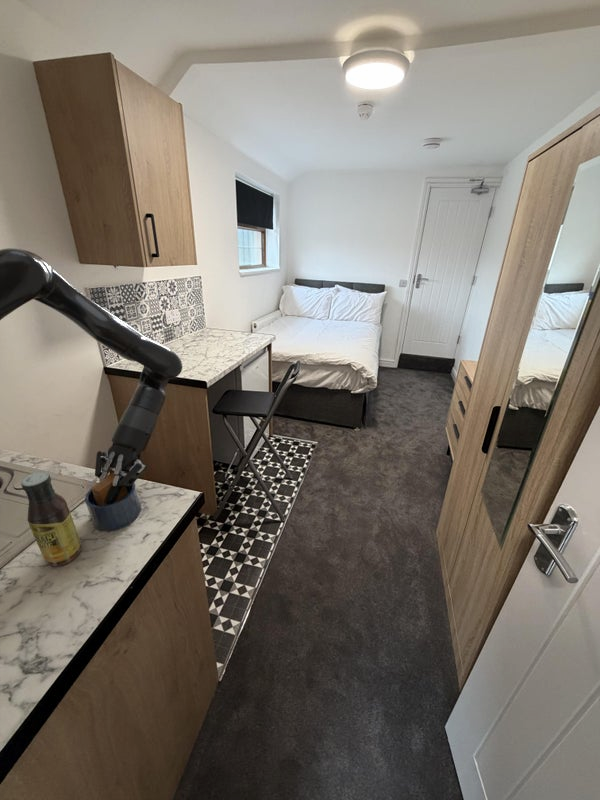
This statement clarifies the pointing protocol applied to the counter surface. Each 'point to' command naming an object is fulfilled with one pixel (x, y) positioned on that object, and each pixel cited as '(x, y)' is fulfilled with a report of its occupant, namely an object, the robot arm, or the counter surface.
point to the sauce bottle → (50, 520)
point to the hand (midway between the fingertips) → (103, 500)
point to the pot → (114, 511)
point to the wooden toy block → (106, 490)
